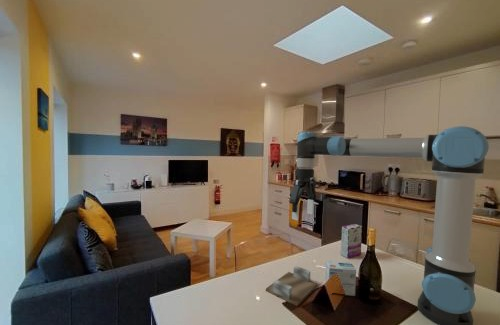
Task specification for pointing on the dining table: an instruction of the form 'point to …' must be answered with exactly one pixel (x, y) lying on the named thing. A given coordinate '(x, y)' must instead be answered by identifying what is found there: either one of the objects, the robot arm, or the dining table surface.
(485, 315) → the dining table surface
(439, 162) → the robot arm
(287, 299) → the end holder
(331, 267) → the light bulb box
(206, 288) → the dining table surface
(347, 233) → the candy bar box
